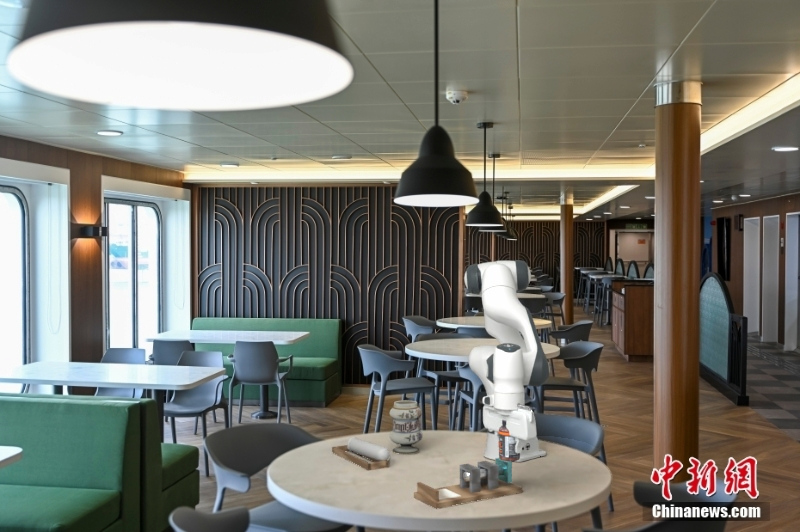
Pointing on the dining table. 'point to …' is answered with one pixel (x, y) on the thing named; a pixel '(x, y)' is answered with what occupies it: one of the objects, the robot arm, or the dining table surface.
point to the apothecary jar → (406, 426)
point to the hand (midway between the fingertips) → (509, 449)
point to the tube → (368, 449)
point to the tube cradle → (368, 466)
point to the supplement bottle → (507, 444)
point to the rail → (467, 487)
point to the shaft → (503, 471)
